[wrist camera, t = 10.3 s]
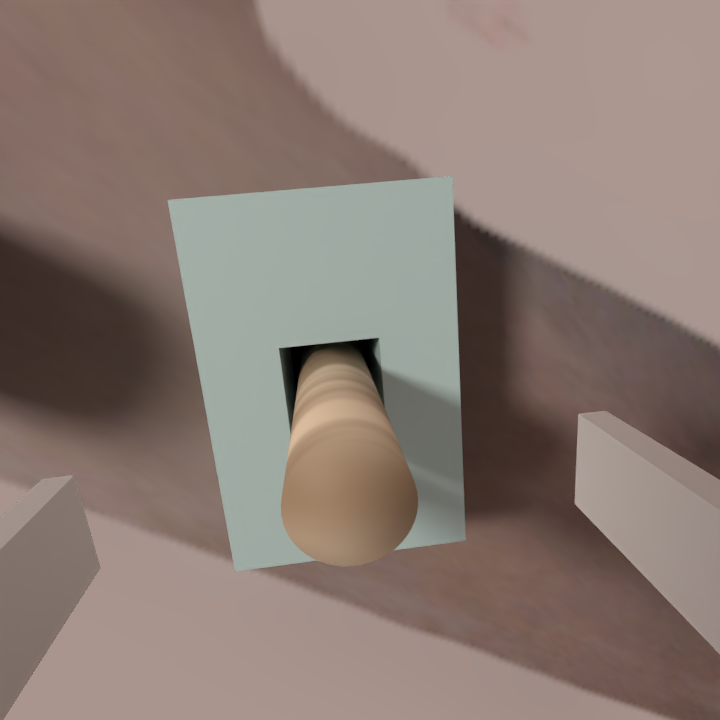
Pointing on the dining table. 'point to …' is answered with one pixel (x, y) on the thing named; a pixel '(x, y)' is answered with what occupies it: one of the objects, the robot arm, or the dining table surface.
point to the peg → (344, 463)
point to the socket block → (324, 337)
